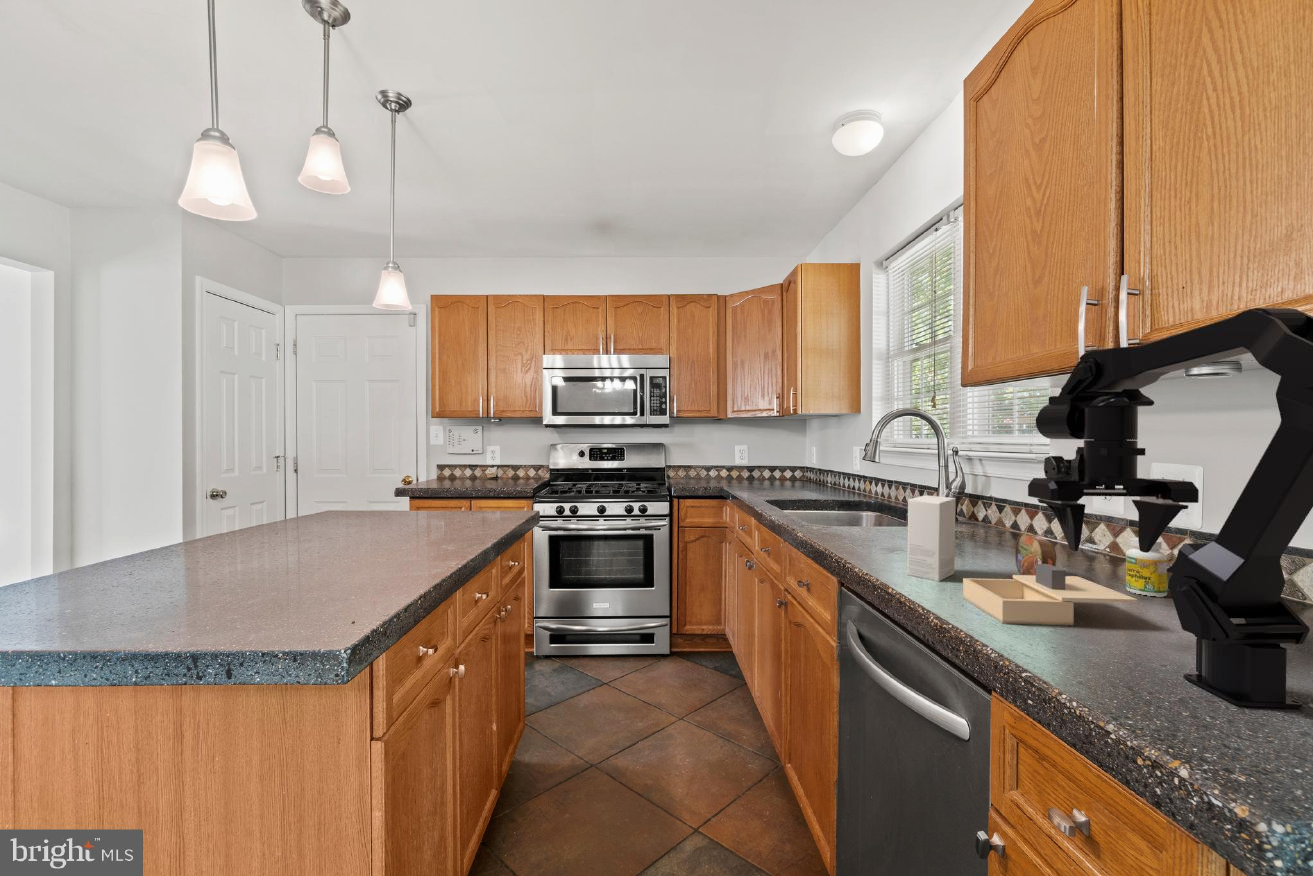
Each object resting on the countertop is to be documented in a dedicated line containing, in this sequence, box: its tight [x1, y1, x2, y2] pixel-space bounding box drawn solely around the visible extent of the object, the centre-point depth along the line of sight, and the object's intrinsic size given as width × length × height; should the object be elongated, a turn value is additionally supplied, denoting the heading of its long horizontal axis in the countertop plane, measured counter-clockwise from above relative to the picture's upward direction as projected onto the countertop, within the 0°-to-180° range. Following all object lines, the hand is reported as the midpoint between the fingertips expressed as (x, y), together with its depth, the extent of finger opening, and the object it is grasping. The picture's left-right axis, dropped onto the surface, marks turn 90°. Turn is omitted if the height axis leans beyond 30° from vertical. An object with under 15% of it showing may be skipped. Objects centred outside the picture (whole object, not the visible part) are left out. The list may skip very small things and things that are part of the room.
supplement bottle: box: [1125, 537, 1168, 598], centre depth 94 cm, size 5×5×10 cm
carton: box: [962, 577, 1075, 626], centre depth 85 cm, size 12×10×4 cm
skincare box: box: [906, 494, 956, 583], centre depth 106 cm, size 8×7×16 cm
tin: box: [1014, 532, 1057, 575], centre depth 103 cm, size 15×3×8 cm, turn 161°
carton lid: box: [1012, 564, 1138, 604], centre depth 84 cm, size 12×10×4 cm
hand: (1108, 551), depth 74 cm, fingers open, 9 cm apart
